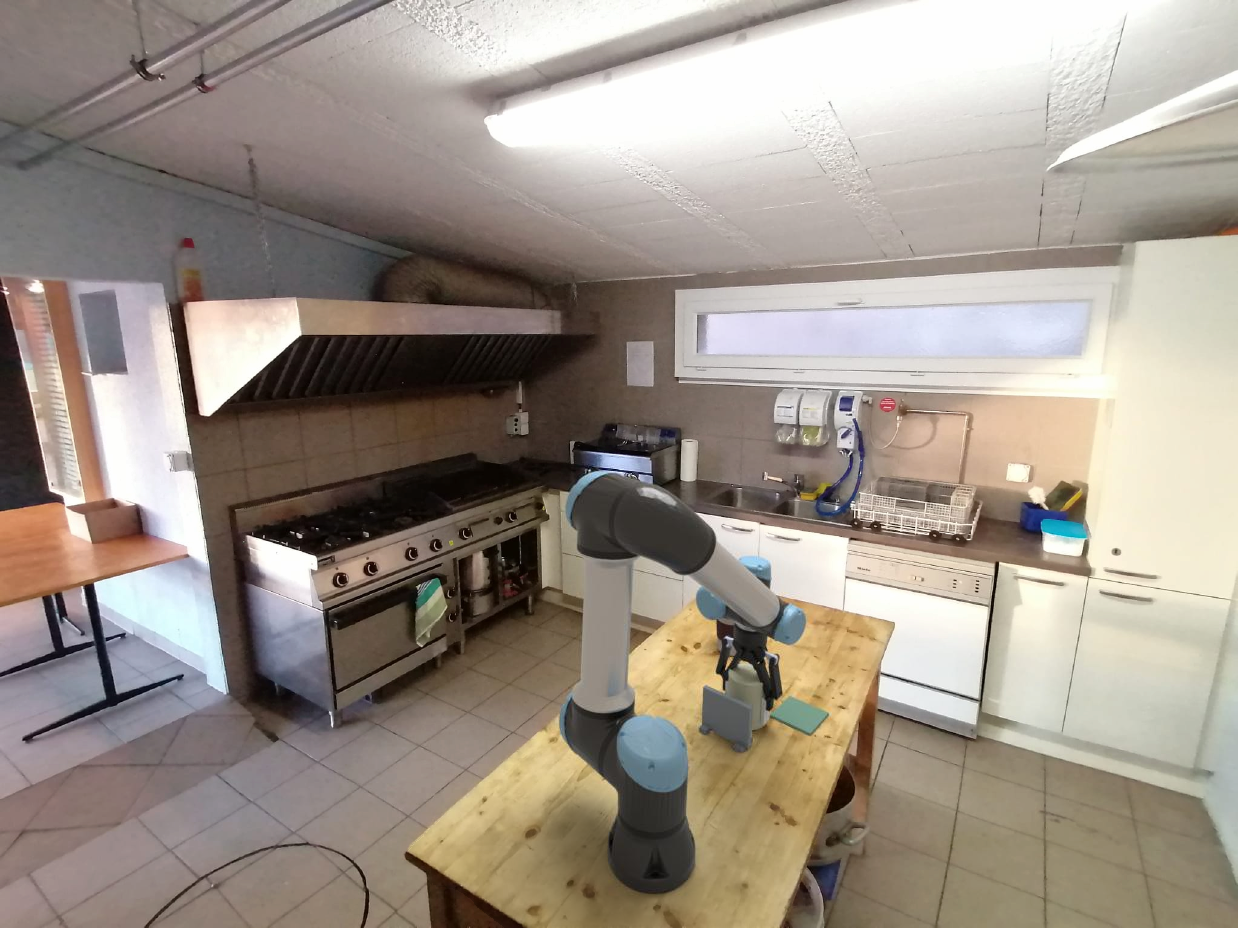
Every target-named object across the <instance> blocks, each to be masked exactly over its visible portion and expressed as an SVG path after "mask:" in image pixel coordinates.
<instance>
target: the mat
mask: <svg viewBox="0 0 1238 928" xmlns="http://www.w3.org/2000/svg"><path fill="white" fill-rule="evenodd" d="M828 716H830V713H829V712H828V711H827V710H826V711H825V710H824V709H822V708H820V707H817V706H814V705H812V704H809V703H808V702H806V701H802V700H801V699H797V698H796V697H793V696H791V695H789V696H788V697H786V699H785V700H784V701H783V702H782V703H780V704H779V705H778V707H776V708H775V709H774V710H773V711H772V712H770V715H769V718H771V719H773V720H775V721H778V722H779V723H782V724H785V725H787V726H788V727H791V728H793V729H795V730H797V731H800V732H801V733H803V734H806V735H808V736H810V737H811V736H812V735H813V733H814V732H816V730H817V729H818V728H819V727H820V725H821V724H822V723H823V722H824V721H825V720H826V719H827V718H828Z"/></svg>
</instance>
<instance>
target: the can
mask: <svg viewBox="0 0 1238 928" xmlns="http://www.w3.org/2000/svg"><path fill="white" fill-rule="evenodd" d="M728 673H729V682H728V695H729V696H731V697H733V698H735V699H737V700H740V701H742V702H744V703H746V704H748V705H750V706H752V707H753V714H752V731H756V730H760V729H762V728H763V727H765V725H766V724H767V722H765V723H764V724H762V723H761V706H762V697H763V696H764V695H765V694H764V692H763V689H762V687H763V683H761V682H760V680H759V678H758V675H757V672H756V670H754V668H753V665H751V664H749V663H748V662H743V663H741V662H740V663H739V664H738V666H737V667H735V668H734V669H733V670H731V669H729V672H728Z"/></svg>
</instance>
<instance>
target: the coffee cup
mask: <svg viewBox="0 0 1238 928" xmlns="http://www.w3.org/2000/svg"><path fill="white" fill-rule="evenodd" d="M715 623H716V637H717V650H718V651H719V652H720V653H721V649H722V642H721V640H722V639H723V638H725V637H726V636H728V635H730V636H731V638H733V639H734V623H735V621H733V620H731V619H729V618H727V617H723V618H722V619H717V620H715ZM736 653H737V652H736V650H735V648H734V646H733V645H732V647H731V651H730V654H729V657H734V656H735V654H736Z"/></svg>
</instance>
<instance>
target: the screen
mask: <svg viewBox="0 0 1238 928" xmlns="http://www.w3.org/2000/svg"><path fill="white" fill-rule="evenodd" d="M701 707H702V711H701V714H702V715H701V725H700V726H698V732H699V733H702V734H703V735H705V736H707V735H708V734H709V733H711V732H712V733H714V734H716V735H717V736H720V737H721V738H724V739H725V740H728V741H729V742H731V743H733V746H732V747H733V748H732V750H733V751H736V752H737V753H739V754H742V753H744V752H745V750H746V751H749V750H750V748H751V747H752V744H753V743H754V738H753V737H752V731H753V730H752V714H753V707H752V706H750V705H748V704H746V703H744V702H742V701H740V700H737V699H735V698H733V697H731V696H729V695H727V694H725V692H723V691H720V690H717V689H716V688H713V687H711V686H710V685H708V684H707V685H706V684H705V685H704V686H703V687H702V706H701Z"/></svg>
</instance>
